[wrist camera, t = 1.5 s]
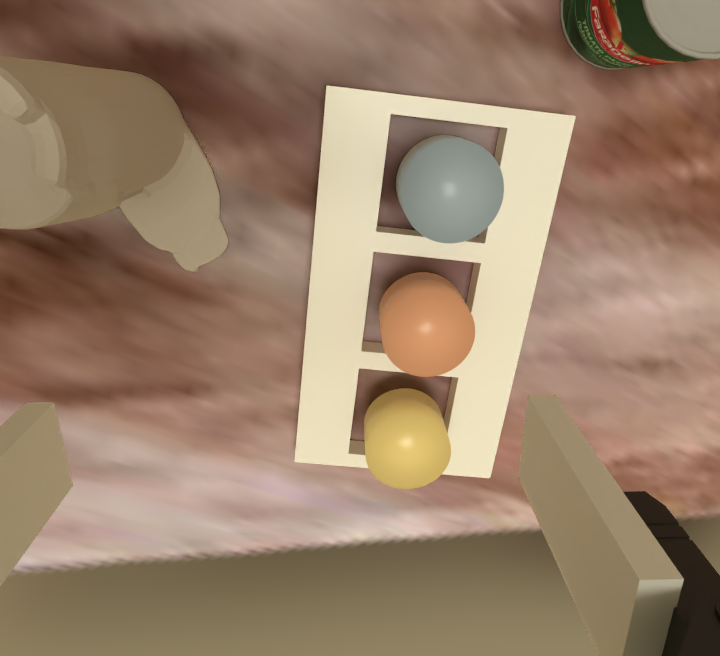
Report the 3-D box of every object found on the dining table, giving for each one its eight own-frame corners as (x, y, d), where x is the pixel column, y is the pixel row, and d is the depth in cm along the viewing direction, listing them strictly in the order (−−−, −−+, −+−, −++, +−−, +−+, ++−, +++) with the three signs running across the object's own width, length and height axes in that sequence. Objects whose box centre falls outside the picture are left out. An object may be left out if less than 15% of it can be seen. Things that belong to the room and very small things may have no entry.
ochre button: (359, 453, 45) (360, 485, 41) (368, 384, 42) (370, 412, 39) (435, 459, 45) (443, 492, 41) (448, 392, 43) (458, 420, 39)
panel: (296, 447, 48) (294, 462, 46) (327, 85, 38) (326, 85, 36) (484, 463, 49) (490, 478, 47) (564, 115, 39) (575, 116, 37)
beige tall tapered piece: (169, 284, 42) (32, 428, 24) (54, 103, 38) (-231, 107, 19) (254, 242, 41) (179, 358, 23) (146, 50, 37) (-60, 0, 18)
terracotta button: (373, 347, 41) (376, 372, 38) (384, 267, 39) (388, 285, 35) (455, 355, 42) (466, 380, 38) (470, 276, 40) (483, 295, 36)
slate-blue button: (390, 224, 38) (394, 238, 34) (402, 129, 36) (409, 132, 32) (478, 234, 38) (492, 248, 35) (496, 140, 36) (513, 145, 33)
